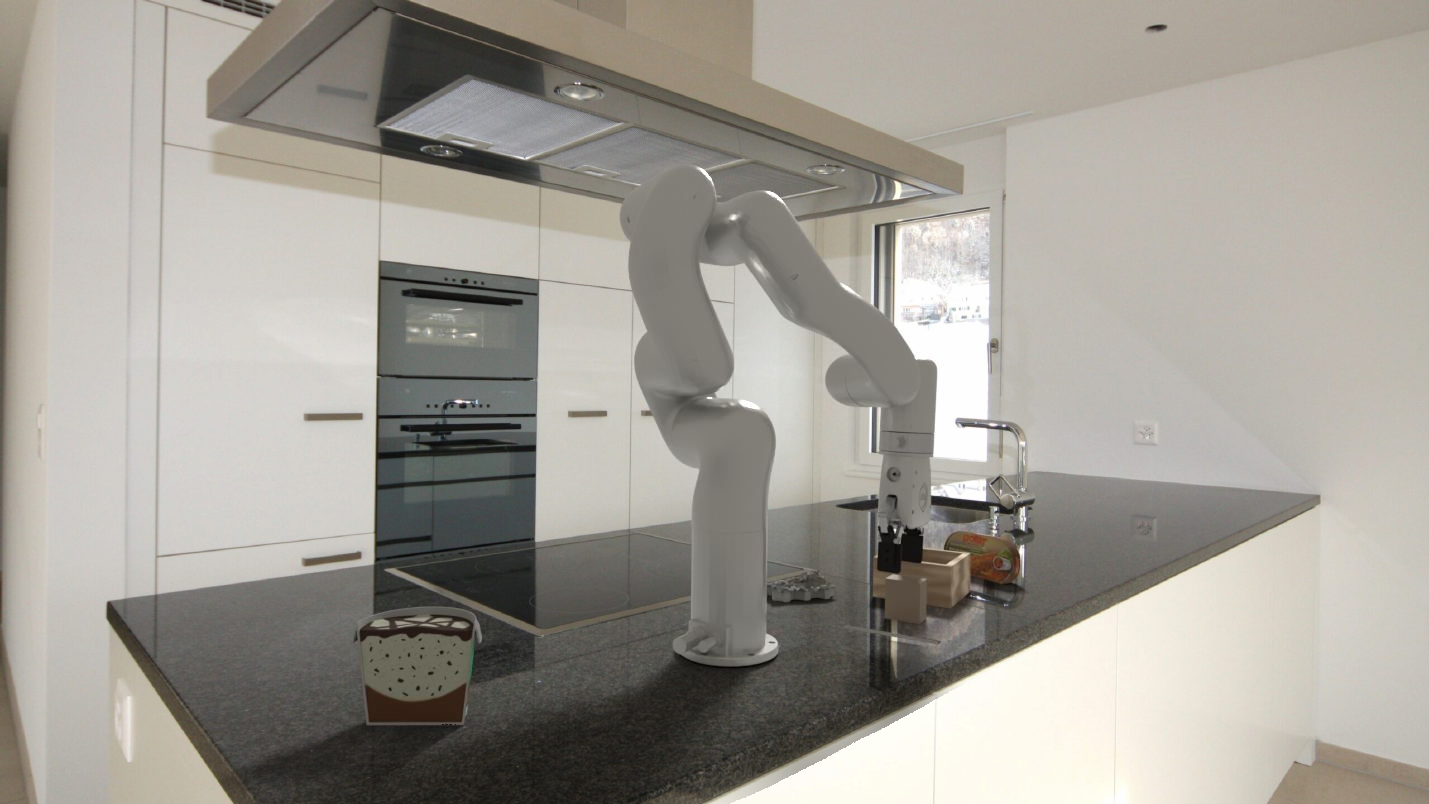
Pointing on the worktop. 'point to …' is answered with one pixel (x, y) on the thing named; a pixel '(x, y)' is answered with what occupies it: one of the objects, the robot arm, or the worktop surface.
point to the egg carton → (801, 588)
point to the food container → (417, 665)
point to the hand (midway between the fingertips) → (900, 566)
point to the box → (934, 576)
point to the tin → (987, 555)
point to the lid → (903, 604)
